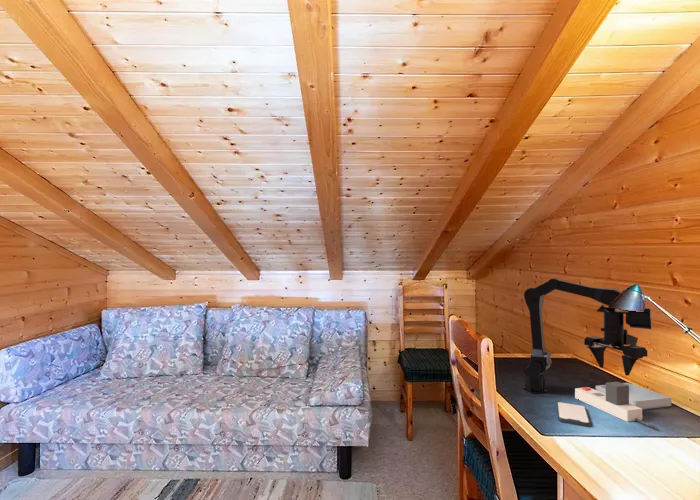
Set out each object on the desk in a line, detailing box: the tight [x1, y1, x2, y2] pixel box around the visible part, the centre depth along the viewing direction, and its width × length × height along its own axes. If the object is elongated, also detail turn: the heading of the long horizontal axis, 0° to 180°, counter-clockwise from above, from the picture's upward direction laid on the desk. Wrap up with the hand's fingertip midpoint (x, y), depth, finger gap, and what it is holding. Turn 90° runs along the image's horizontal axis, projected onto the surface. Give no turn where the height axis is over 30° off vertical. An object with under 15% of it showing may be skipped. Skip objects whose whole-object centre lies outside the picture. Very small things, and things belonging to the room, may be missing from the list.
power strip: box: [574, 386, 659, 431], centre depth 125 cm, size 27×6×4 cm, turn 14°
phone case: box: [556, 401, 591, 428], centre depth 123 cm, size 9×2×16 cm
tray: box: [595, 382, 672, 411], centre depth 136 cm, size 16×16×3 cm
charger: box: [605, 381, 629, 405], centre depth 124 cm, size 4×5×8 cm
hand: (614, 371), depth 129 cm, fingers open, 9 cm apart
